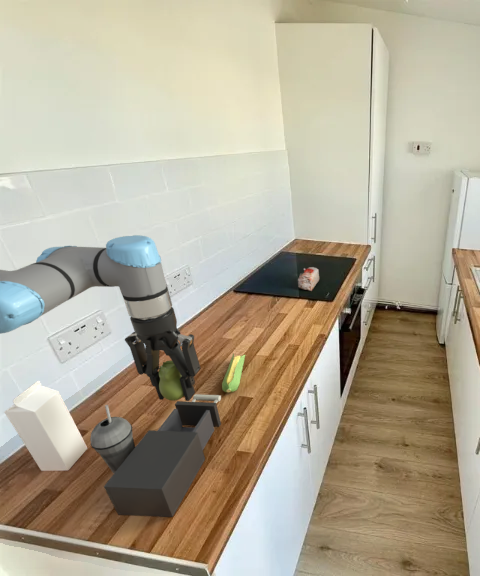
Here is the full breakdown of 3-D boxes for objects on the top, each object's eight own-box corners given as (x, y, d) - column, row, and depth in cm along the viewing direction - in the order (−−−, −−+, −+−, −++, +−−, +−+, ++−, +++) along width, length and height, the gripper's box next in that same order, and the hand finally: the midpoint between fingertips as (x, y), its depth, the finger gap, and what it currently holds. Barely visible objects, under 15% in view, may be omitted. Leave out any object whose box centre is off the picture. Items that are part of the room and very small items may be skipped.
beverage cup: (112, 461, 78) (83, 399, 70) (148, 451, 81) (125, 390, 72) (103, 489, 72) (70, 425, 64) (142, 477, 75) (115, 415, 66)
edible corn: (220, 398, 98) (218, 386, 96) (233, 357, 115) (231, 346, 113) (238, 396, 99) (236, 384, 97) (248, 355, 116) (247, 345, 114)
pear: (178, 386, 80) (168, 353, 76) (196, 391, 79) (187, 358, 74) (158, 402, 75) (146, 368, 71) (176, 408, 74) (166, 373, 70)
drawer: (194, 407, 93) (188, 386, 90) (229, 409, 93) (225, 388, 90) (154, 463, 77) (145, 441, 74) (197, 465, 77) (190, 443, 74)
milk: (88, 448, 81) (54, 380, 72) (68, 471, 76) (28, 400, 66) (62, 448, 81) (24, 379, 71) (40, 471, 75) (-4, 400, 66)
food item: (312, 292, 164) (311, 274, 160) (297, 290, 165) (296, 273, 160) (320, 281, 176) (320, 264, 172) (306, 280, 177) (305, 263, 173)
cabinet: (158, 457, 80) (148, 430, 76) (205, 459, 80) (197, 432, 76) (118, 515, 68) (103, 486, 64) (172, 517, 68) (161, 489, 64)
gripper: (205, 304, 70) (223, 386, 80) (120, 300, 70) (149, 383, 80) (186, 322, 64) (208, 409, 74) (92, 318, 63) (127, 406, 73)
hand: (177, 395), depth 77 cm, fingers closed on pear, 5 cm apart
